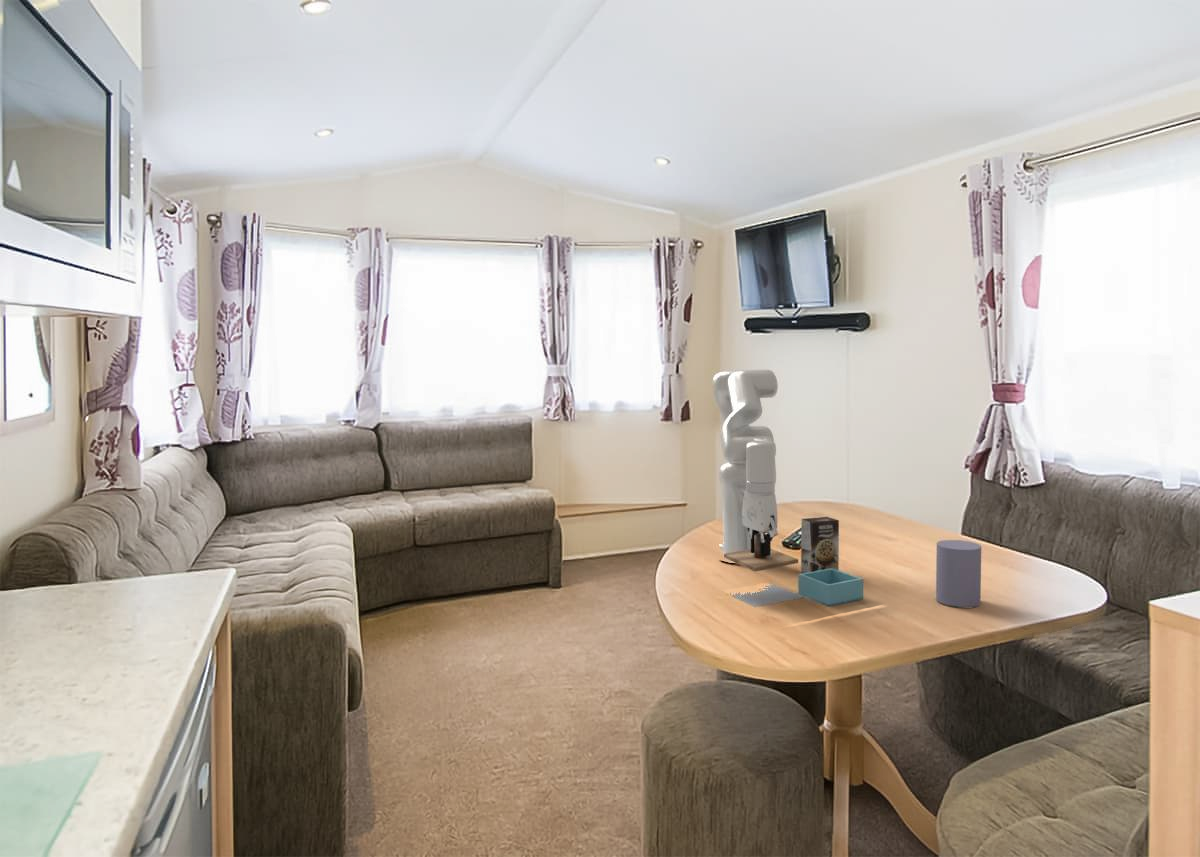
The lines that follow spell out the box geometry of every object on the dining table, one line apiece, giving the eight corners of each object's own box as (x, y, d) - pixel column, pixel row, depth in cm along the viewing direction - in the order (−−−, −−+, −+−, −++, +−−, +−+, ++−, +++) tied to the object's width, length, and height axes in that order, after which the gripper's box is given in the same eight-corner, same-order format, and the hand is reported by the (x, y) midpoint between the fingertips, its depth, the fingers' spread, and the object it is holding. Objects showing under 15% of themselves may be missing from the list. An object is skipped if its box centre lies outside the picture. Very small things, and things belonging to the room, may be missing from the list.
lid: (723, 557, 207) (723, 532, 206) (765, 549, 213) (765, 525, 212) (755, 571, 194) (754, 545, 193) (798, 563, 200) (798, 537, 199)
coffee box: (812, 577, 219) (811, 522, 217) (800, 571, 225) (800, 518, 224) (839, 574, 221) (839, 519, 220) (827, 568, 228) (827, 515, 226)
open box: (798, 596, 202) (798, 574, 202) (832, 589, 207) (832, 568, 206) (828, 608, 192) (828, 585, 191) (863, 601, 196) (863, 578, 196)
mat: (719, 592, 207) (719, 590, 207) (767, 583, 214) (767, 581, 214) (755, 609, 193) (755, 606, 193) (804, 599, 200) (804, 596, 199)
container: (937, 593, 201) (937, 538, 200) (980, 598, 196) (981, 541, 195) (934, 605, 192) (935, 547, 190) (980, 610, 187) (981, 551, 186)
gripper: (730, 483, 207) (731, 548, 209) (768, 494, 192) (768, 564, 194) (753, 480, 210) (753, 544, 212) (791, 491, 195) (791, 559, 197)
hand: (760, 553), depth 203 cm, fingers closed on lid, 3 cm apart
